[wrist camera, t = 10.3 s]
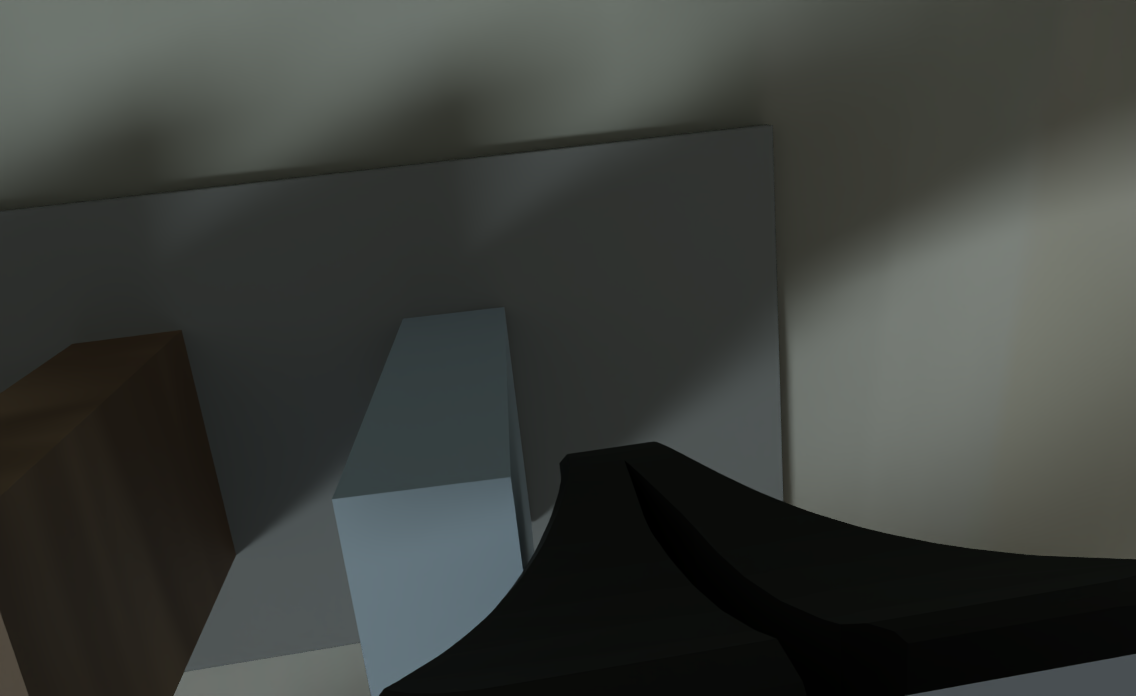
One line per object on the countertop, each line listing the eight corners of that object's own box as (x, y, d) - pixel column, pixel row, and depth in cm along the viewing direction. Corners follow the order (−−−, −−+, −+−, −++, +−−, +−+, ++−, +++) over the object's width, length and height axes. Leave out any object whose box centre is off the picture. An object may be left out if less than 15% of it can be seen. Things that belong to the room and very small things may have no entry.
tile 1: (181, 329, 15) (-30, 524, 8) (236, 554, 16) (91, 878, 10) (72, 343, 15) (-234, 554, 8) (136, 570, 16) (-83, 911, 9)
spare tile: (504, 306, 15) (510, 477, 9) (531, 526, 17) (555, 819, 10) (402, 318, 15) (332, 499, 9) (438, 538, 17) (400, 842, 10)
